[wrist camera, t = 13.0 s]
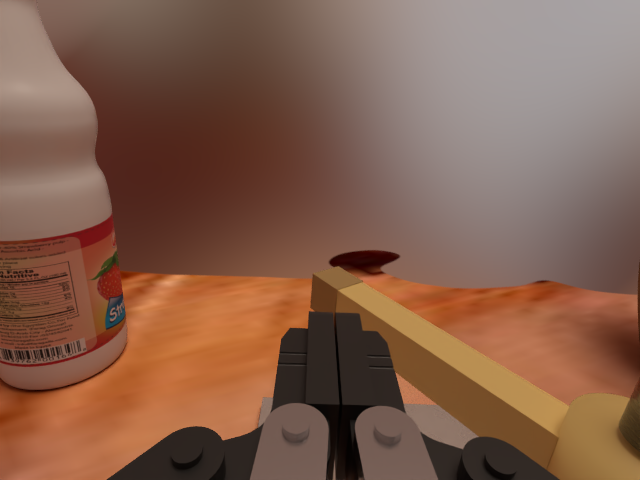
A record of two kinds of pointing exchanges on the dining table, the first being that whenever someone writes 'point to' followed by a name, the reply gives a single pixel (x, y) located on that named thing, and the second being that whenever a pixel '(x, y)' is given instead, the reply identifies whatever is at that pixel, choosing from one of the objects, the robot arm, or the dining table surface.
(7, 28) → the fruit juice
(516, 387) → the lever handle
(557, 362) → the dining table surface
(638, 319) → the plant pot
